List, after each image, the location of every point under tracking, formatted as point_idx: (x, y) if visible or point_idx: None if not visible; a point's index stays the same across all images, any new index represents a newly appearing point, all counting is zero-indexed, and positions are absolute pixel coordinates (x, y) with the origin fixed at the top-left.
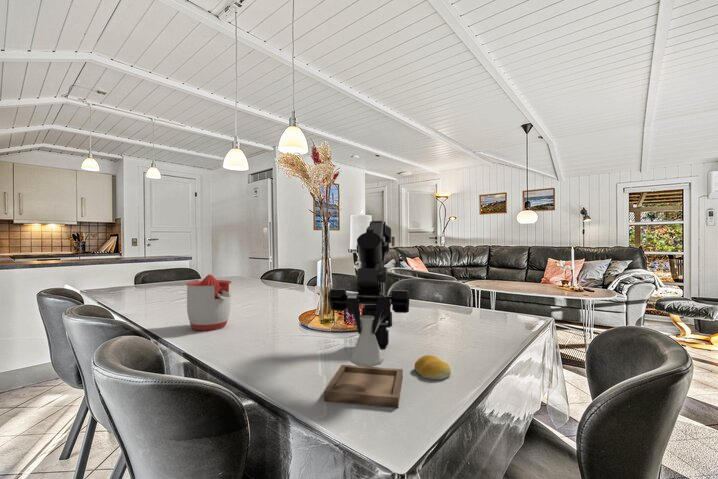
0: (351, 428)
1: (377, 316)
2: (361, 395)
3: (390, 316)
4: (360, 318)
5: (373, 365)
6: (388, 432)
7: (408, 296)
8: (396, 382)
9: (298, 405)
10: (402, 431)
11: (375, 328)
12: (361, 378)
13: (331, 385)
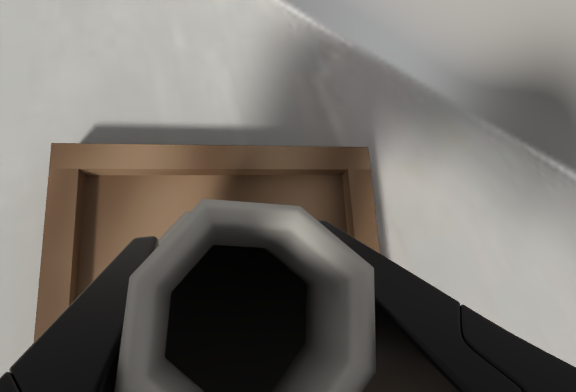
0: (216, 17)
1: (46, 382)
2: (216, 146)
3: None
4: (354, 257)
5: (170, 228)
6: (98, 10)
7: None
8: (60, 306)
9: (420, 117)
10: (51, 19)
11: (120, 256)
12: None
13: (359, 200)
